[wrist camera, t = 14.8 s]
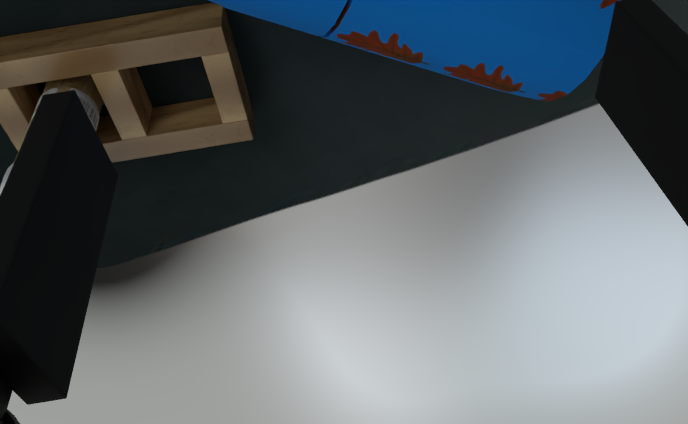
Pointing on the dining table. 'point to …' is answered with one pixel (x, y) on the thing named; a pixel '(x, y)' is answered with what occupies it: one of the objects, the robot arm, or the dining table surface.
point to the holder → (133, 79)
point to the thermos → (462, 36)
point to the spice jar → (86, 94)
